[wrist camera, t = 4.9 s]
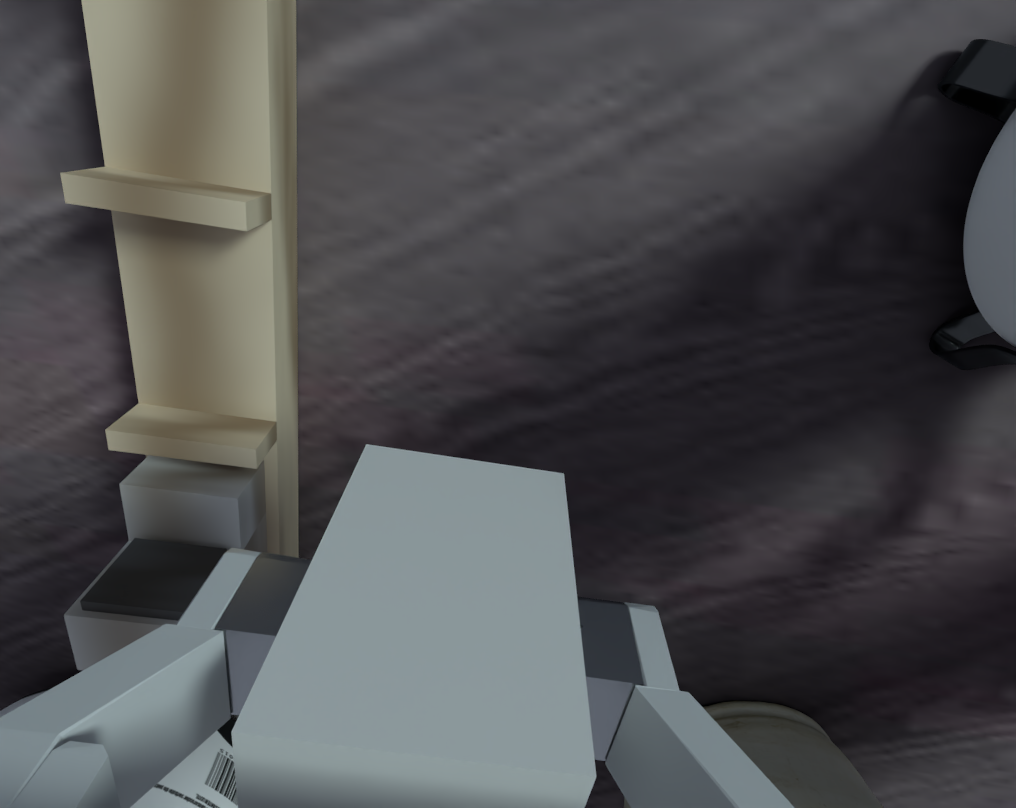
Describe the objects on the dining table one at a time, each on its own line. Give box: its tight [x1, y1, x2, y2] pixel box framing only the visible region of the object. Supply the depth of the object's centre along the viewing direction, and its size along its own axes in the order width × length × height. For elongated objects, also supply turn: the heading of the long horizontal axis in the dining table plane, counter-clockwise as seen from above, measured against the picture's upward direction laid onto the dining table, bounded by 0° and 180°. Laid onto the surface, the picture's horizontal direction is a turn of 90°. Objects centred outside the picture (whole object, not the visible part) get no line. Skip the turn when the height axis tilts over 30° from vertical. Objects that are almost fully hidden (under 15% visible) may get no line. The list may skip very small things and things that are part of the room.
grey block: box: [231, 444, 596, 808], centre depth 10 cm, size 4×5×6 cm
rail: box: [60, 0, 299, 670], centre depth 18 cm, size 5×28×8 cm, turn 171°
